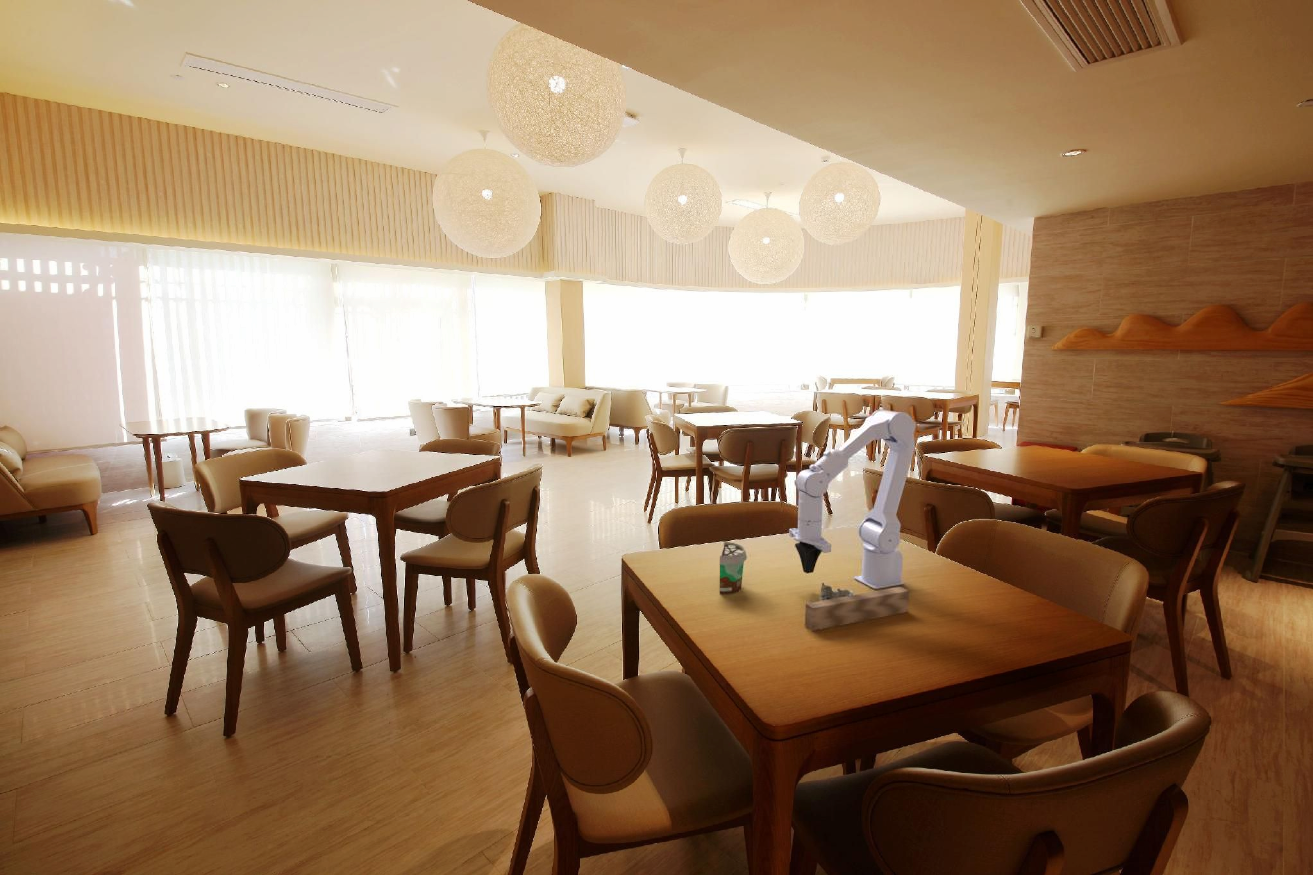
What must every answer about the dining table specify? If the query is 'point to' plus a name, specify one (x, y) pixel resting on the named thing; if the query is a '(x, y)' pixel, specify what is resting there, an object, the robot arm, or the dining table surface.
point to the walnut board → (856, 608)
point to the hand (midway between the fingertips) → (808, 572)
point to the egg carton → (833, 593)
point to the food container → (731, 568)
